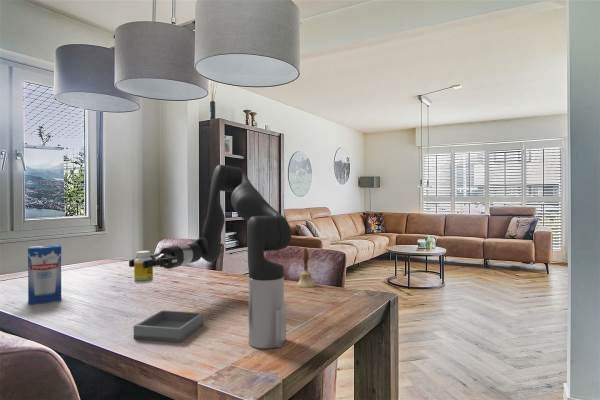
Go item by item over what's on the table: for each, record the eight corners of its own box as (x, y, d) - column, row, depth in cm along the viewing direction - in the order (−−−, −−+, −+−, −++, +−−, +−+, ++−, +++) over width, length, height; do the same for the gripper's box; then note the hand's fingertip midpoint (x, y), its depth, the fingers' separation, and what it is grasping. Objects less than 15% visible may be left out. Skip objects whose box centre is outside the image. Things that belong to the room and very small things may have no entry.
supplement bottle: (138, 280, 117) (137, 250, 117) (155, 279, 118) (154, 250, 118) (131, 284, 112) (131, 253, 112) (149, 283, 112) (148, 252, 112)
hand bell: (294, 287, 155) (294, 249, 155) (298, 282, 163) (298, 247, 163) (314, 288, 153) (314, 250, 153) (316, 283, 161) (316, 247, 161)
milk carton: (27, 305, 129) (27, 248, 129) (29, 301, 134) (28, 246, 134) (61, 300, 135) (61, 246, 135) (61, 296, 140) (61, 244, 140)
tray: (203, 324, 109) (203, 313, 109) (179, 342, 96) (179, 329, 96) (162, 321, 112) (162, 310, 112) (133, 338, 98) (133, 325, 98)
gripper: (160, 244, 131) (120, 250, 115) (192, 246, 125) (154, 253, 109) (161, 265, 131) (120, 274, 115) (192, 268, 125) (154, 278, 109)
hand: (137, 264), depth 112 cm, fingers closed on supplement bottle, 5 cm apart
